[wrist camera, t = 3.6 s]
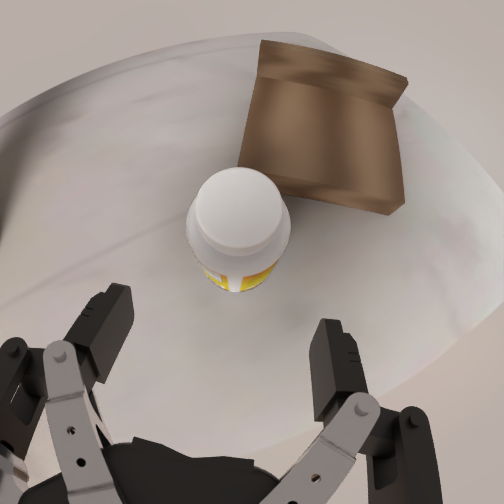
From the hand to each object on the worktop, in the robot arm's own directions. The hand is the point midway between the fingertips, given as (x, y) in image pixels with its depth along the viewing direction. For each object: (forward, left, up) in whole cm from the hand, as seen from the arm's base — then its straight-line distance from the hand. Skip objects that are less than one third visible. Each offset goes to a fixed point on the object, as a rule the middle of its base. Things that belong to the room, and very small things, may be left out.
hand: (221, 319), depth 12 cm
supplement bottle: (0, +5, -10) cm, 11 cm away
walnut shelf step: (+6, +17, -10) cm, 21 cm away
